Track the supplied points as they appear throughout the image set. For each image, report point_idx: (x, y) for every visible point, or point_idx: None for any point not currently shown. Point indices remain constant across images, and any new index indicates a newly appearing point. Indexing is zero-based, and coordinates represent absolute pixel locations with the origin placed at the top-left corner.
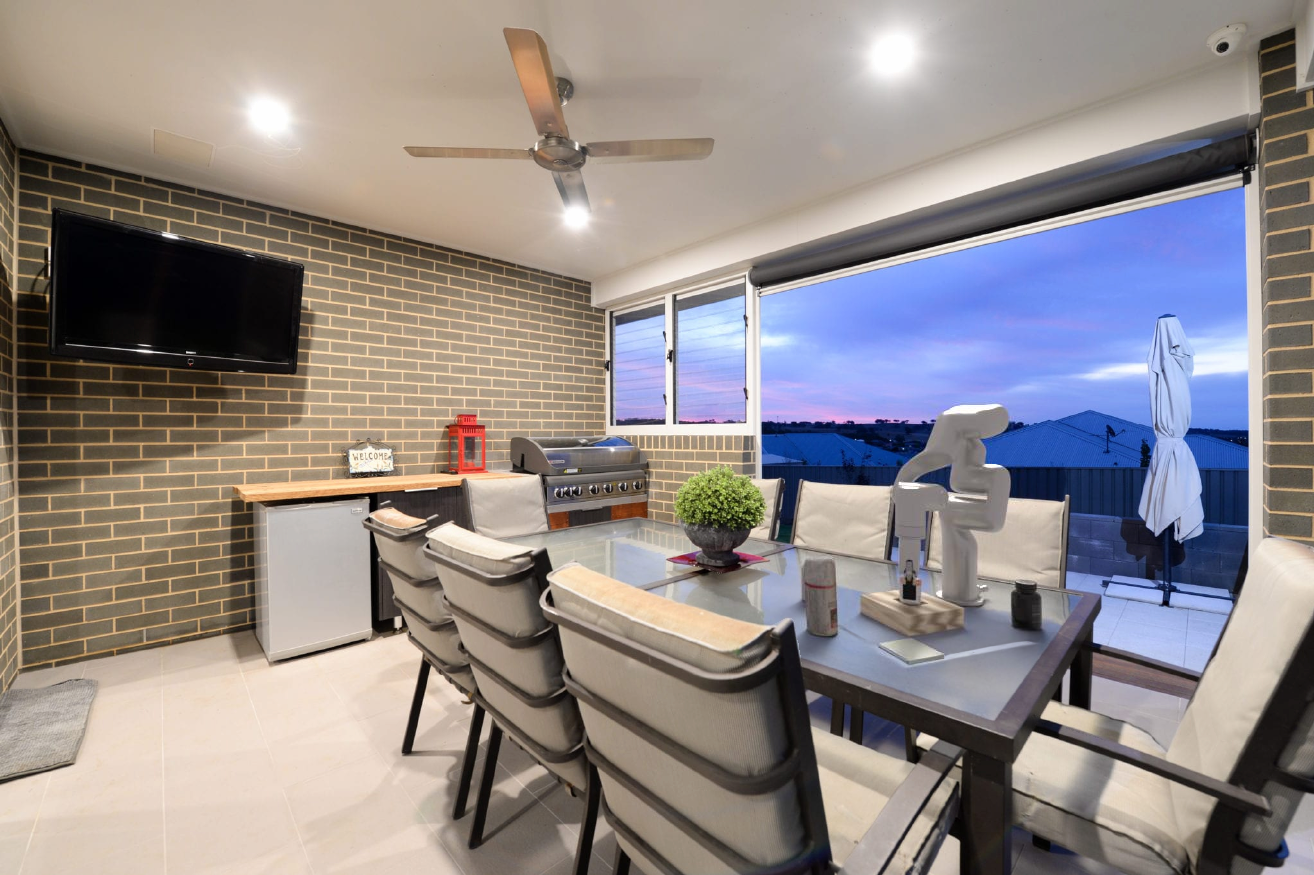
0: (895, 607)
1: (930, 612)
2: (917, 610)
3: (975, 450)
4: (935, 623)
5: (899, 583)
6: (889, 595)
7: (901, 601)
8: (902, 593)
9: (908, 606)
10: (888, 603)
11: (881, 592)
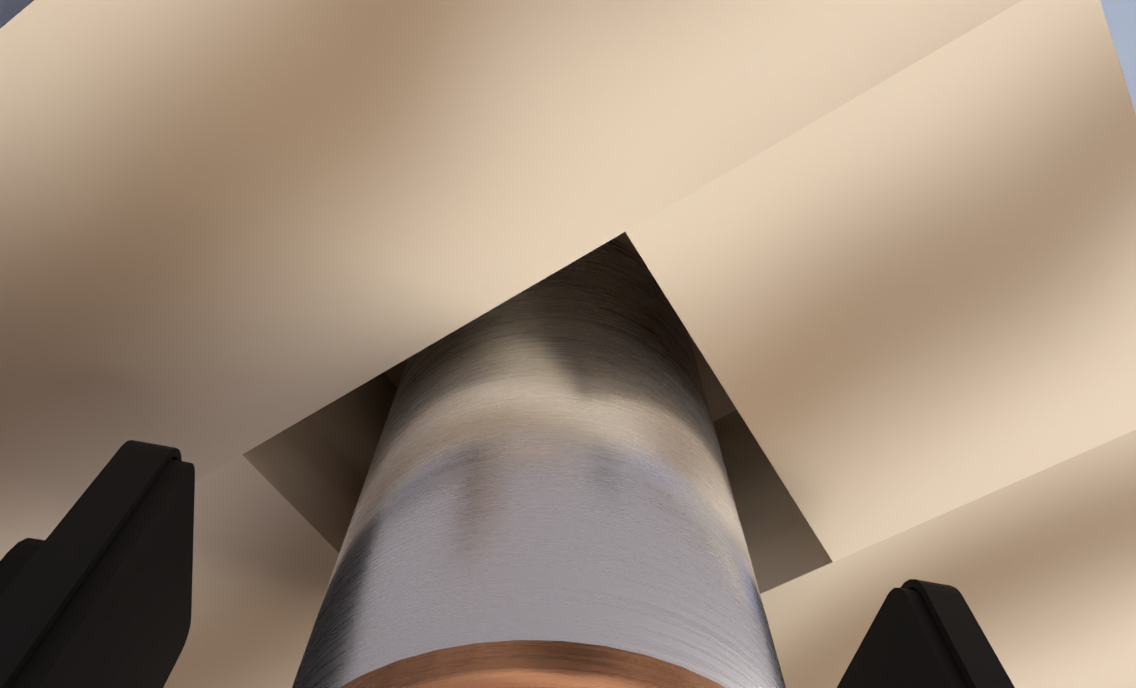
0: (50, 205)
1: None
2: None
3: None
4: None
5: (538, 612)
6: (856, 217)
7: (453, 376)
8: (402, 494)
9: (225, 438)
10: (267, 102)
11: (1085, 71)
